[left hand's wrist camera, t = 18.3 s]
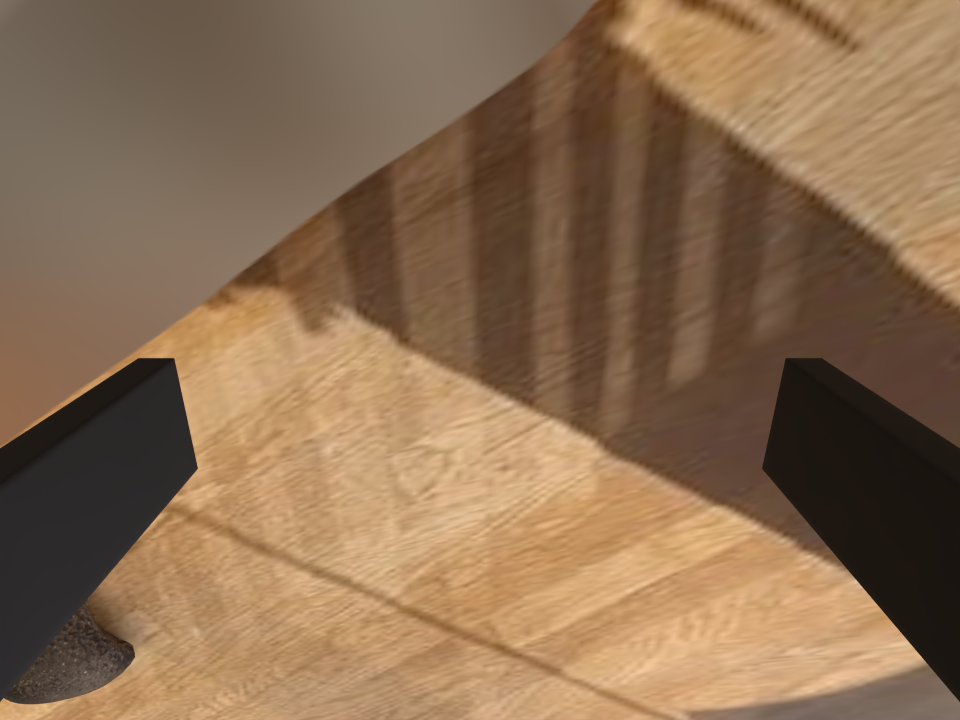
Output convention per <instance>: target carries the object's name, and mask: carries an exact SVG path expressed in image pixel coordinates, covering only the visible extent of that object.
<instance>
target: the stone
mask: <svg viewBox="0 0 960 720" xmlns="http://www.w3.org/2000/svg"><path fill="white" fill-rule="evenodd" d="M134 658H135V653H134V649H133V645H131V644H130V643H128V642H126V641H123V640H119V639H118V638H116V637H114V636H112V635H110V634H108V633H106V632H104V631H103V630H102V629H101V628H100V627H99V626H98V625H97V624H96V623H95V620H94V617H93V615H92V614H91V613H90V612H89V609H88V607H87V605H86V603H85V602H84V604H83V605H82V606H81V607H80V608H79V609H78V611H77V612H76V613H75V614H74V615H73V617H72V618H71V619H70V620H69V621H68V622H67V624H66V625H65V626H64V627H63V628H62V630H61V631H60V632H59V633H58V634H57V635H56V637H55V638H54V639H53V640H52V641H51V642H50V644H49V645H48V646H47V647H46V648H45V650H44V651H43V652H42V653H41V654H40V655H39V657H38V658H37V659H36V660H35V661H34V663H33V664H32V665H31V666H30V667H29V668H28V670H27V671H26V672H25V673H24V674H23V676H22V677H21V678H20V679H19V680H18V681H17V683H16V684H15V685H14V686H13V687H12V689H11V690H10V691H9V692H8V693H7V694H6V696H5V697H4V698H5V699H6V700H9V701H10V702H15V703H19V704H43V703H51V702H56V701H61V700H65V699H69V698H73V697H77V696H80V695H84V694H86V693H89V692H92V691H94V690H97V689H99V688H101V687H103V686H105V685H106V684H108V683H109V682H111V681H112V680H113V679H115V678H116V677H117V676H119V675H120V674H121V673H122V672H123V671H124V670H125V669H126V668H127V667H128V666H129V665H130V664H131V662H132V661H133V659H134Z"/></svg>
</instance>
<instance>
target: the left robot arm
mask: <svg viewBox="0 0 960 720" xmlns="http://www.w3.org/2000/svg"><path fill="white" fill-rule="evenodd" d="M197 469H198V467H197V462H196V458H195V453H194V448H193V444H192V439H191V434H190V430H189V425H188V420H187V416H186V411H185V406H184V402H183V397H182V392H181V388H180V383H179V378H178V374H177V369H176V364H175V360H174V358H138V359H137V360H135V361H134V362H132V363H130V364H129V365H127V366H126V367H124V368H123V369H121V370H120V371H118V372H117V373H115V374H114V375H112V376H111V377H109V378H107V379H106V380H104V381H103V382H101V383H100V384H98V385H97V386H95V387H94V388H92V389H91V390H89V391H88V392H86V393H84V394H83V395H81V396H80V397H78V398H77V399H75V400H74V401H72V402H71V403H69V404H68V405H66V406H65V407H63V408H61V409H60V410H58V411H57V412H55V413H54V414H52V415H51V416H49V417H48V418H46V419H45V420H43V421H42V422H40V423H38V424H37V425H35V426H34V427H32V428H31V429H29V430H28V431H26V432H25V433H23V434H22V435H20V436H19V437H17V438H15V439H14V440H12V441H11V442H9V443H8V444H6V445H5V446H3V447H2V448H0V702H1V700H2V699H3V698H4V697H5V696H6V694H7V693H8V692H9V691H10V690H11V689H12V687H13V686H14V685H15V684H16V683H17V681H18V680H19V679H20V678H21V677H22V676H23V674H24V673H25V672H26V671H27V670H28V668H29V667H30V666H31V665H32V664H33V663H34V661H35V660H36V659H37V658H38V657H39V655H40V654H41V653H42V652H43V651H44V650H45V648H46V647H47V646H48V645H49V644H50V642H51V641H52V640H53V639H54V638H55V637H56V635H57V634H58V633H59V632H60V631H61V630H62V628H63V627H64V626H65V625H66V624H67V622H68V621H69V620H70V619H71V618H72V617H73V615H74V614H75V613H76V612H77V611H78V609H79V608H80V607H81V606H82V605H83V604H84V602H85V601H86V600H87V599H88V598H89V596H90V595H91V594H92V593H93V592H94V591H95V589H96V588H97V587H98V586H99V585H100V583H101V582H102V581H103V580H104V579H105V578H106V576H107V575H108V574H109V573H110V572H111V570H112V569H113V568H114V567H115V566H116V565H117V563H118V562H119V561H120V560H121V559H122V558H123V556H124V555H125V554H126V553H127V552H128V550H129V549H130V548H131V547H132V546H133V545H134V543H135V542H136V541H137V540H138V539H139V537H140V536H141V535H142V534H143V533H144V532H145V530H146V529H147V528H148V527H149V526H150V524H151V523H152V522H153V521H154V520H155V519H156V517H157V516H158V515H159V514H160V513H161V511H162V510H163V509H164V508H165V507H166V506H167V504H168V503H169V502H170V501H171V500H172V498H173V497H174V496H175V495H176V494H177V493H178V491H179V490H180V489H181V488H182V487H183V486H184V484H185V483H186V482H187V481H188V480H189V478H190V477H191V476H192V475H193V474H194V473H195V471H196V470H197ZM762 469H763V470H764V471H765V473H766V474H767V475H768V476H769V477H770V478H771V480H772V481H773V482H774V483H775V484H776V486H777V487H778V488H779V489H780V490H781V491H782V493H783V494H784V495H785V496H786V497H787V498H788V500H789V501H790V502H791V503H792V504H793V506H794V507H795V508H796V509H797V510H798V511H799V513H800V514H801V515H802V516H803V517H804V519H805V520H806V521H807V522H808V523H809V524H810V526H811V527H812V528H813V529H814V530H815V532H816V533H817V534H818V535H819V536H820V537H821V539H822V540H823V541H824V542H825V543H826V545H827V546H828V547H829V548H830V549H831V550H832V552H833V553H834V554H835V555H836V556H837V558H838V559H839V560H840V561H841V562H842V563H843V565H844V566H845V567H846V568H847V569H848V570H849V572H850V573H851V574H852V575H853V576H854V578H855V579H856V580H857V581H858V582H859V583H860V585H861V586H862V587H863V588H864V589H865V591H866V592H867V593H868V594H869V595H870V596H871V598H872V599H873V600H874V601H875V602H876V604H877V605H878V606H879V607H880V608H881V609H882V611H883V612H884V613H885V614H886V615H887V617H888V618H889V619H890V620H891V621H892V622H893V624H894V625H895V626H896V627H897V628H898V630H899V631H900V632H901V633H902V634H903V635H904V637H905V638H906V639H907V640H908V641H909V642H910V644H911V645H912V646H913V647H914V648H915V650H916V651H917V652H918V653H919V654H920V655H921V657H922V658H923V659H924V660H925V661H926V663H927V664H928V665H929V666H930V667H931V668H932V670H933V671H934V672H935V673H936V674H937V676H938V677H939V678H940V679H941V680H942V681H943V683H944V684H945V685H946V686H947V687H948V689H949V690H950V691H951V692H952V693H953V694H954V696H955V697H956V698H957V699H958V700H959V701H960V448H958V447H957V446H955V445H954V444H952V443H951V442H949V441H948V440H946V439H945V438H943V437H941V436H940V435H938V434H937V433H935V432H934V431H932V430H931V429H929V428H928V427H926V426H925V425H923V424H922V423H920V422H918V421H917V420H915V419H914V418H912V417H911V416H909V415H908V414H906V413H905V412H903V411H902V410H900V409H899V408H897V407H895V406H894V405H892V404H891V403H889V402H888V401H886V400H885V399H883V398H882V397H880V396H879V395H877V394H876V393H874V392H872V391H871V390H869V389H868V388H866V387H865V386H863V385H862V384H860V383H859V382H857V381H856V380H854V379H853V378H851V377H849V376H848V375H846V374H845V373H843V372H842V371H840V370H839V369H837V368H836V367H834V366H833V365H831V364H830V363H828V362H826V361H825V360H823V359H822V358H786V360H785V364H784V369H783V374H782V378H781V383H780V388H779V392H778V397H777V402H776V406H775V411H774V416H773V420H772V425H771V430H770V434H769V439H768V444H767V448H766V453H765V458H764V462H763V467H762Z"/></svg>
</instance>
